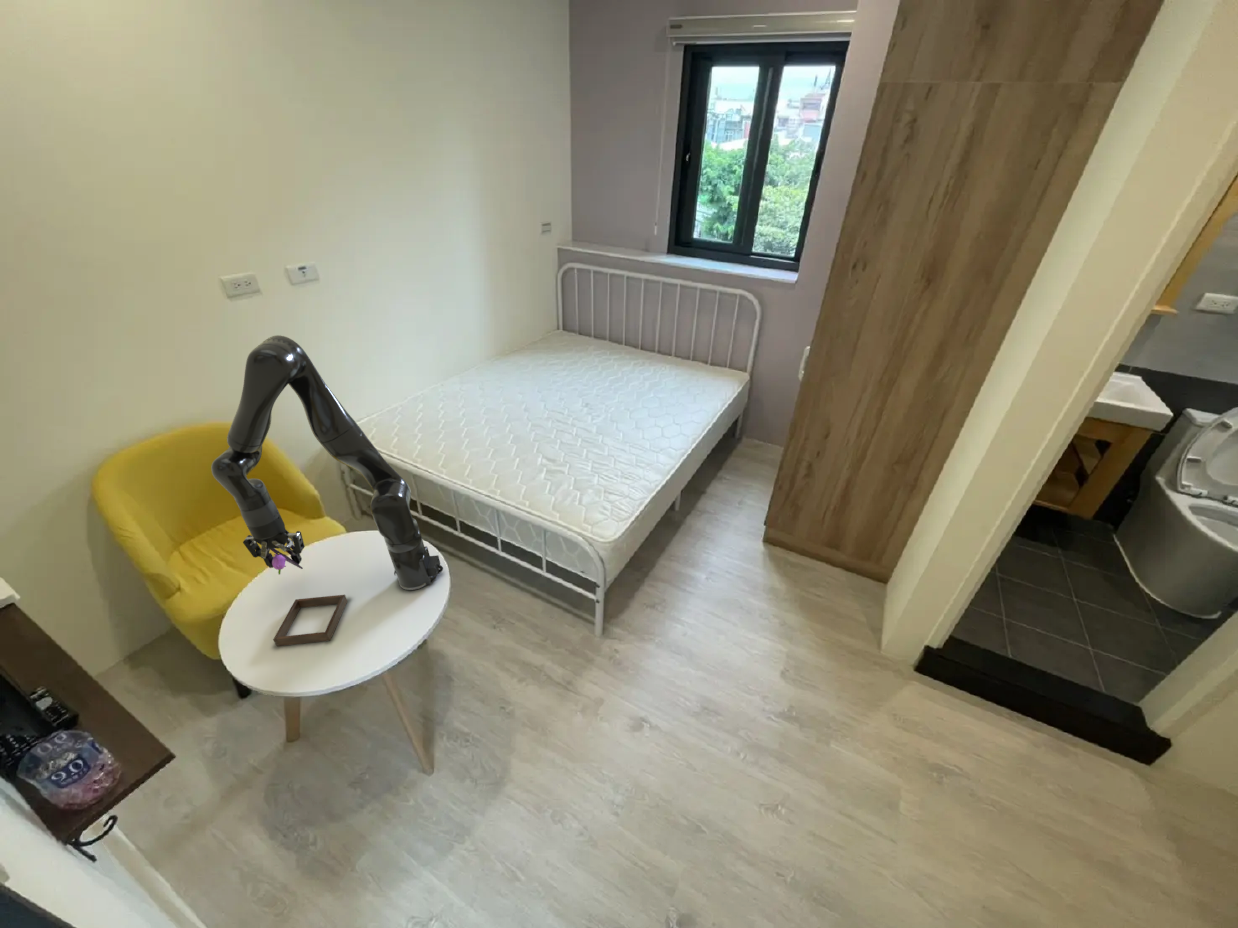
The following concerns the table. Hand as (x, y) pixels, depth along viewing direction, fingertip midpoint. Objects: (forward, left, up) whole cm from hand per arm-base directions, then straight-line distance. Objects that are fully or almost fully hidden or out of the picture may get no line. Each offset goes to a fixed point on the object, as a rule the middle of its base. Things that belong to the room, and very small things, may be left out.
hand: (285, 564), depth 141 cm
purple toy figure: (0, 0, -1) cm, 1 cm away
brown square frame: (-9, +13, -10) cm, 19 cm away
